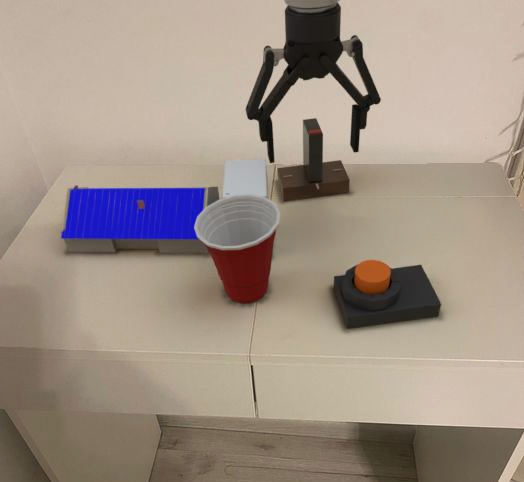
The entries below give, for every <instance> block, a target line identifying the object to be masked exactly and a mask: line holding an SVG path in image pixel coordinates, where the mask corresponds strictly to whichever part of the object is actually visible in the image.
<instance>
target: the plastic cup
mask: <svg viewBox="0 0 524 482" xmlns="http://www.w3.org/2000/svg"><path fill="white" fill-rule="evenodd" d="M280 218H281V211H280V209H279V208H278V205H277V204H276V202H274V201H272V200H270V198H269V199H267V198H265V197H262V196H257V195H252V194H246V195H233V196H230V197H226V198H223V199H222V198H220V200H218V201H216V202H214V203H212V204H211V205H209V206H207V207H206V208H205V209H204V210H203V211H202V212H201V213H200V214H199V215H198V216H197V219H196V222H195V225H194V229H195V232H196V235H197V237H198V239H199V240H201V241H202V242H203V243H204V244H205V246H206V247H207V249H208V251H209V252H208V253H209V254H210V256H211V258H212V262H213V264H214V267H215V270H216V272H217V274H218V277H219V279H220V281H221V282H222V285H223V287H224V290H225V293H226V295H227V296H228V298H229V299H231V301H233V302H235V303H239V304H251V303H255V302H257V301H259V300H261V299H263V298H264V296H265V295H266V294H267V292H268V291H267V290H268V288H269V281H270V275H271V270H272V269H271V268H272V261H273V252H274V245H275V244H274V243H275V237H276V233H277V229H278V228H279V224H280Z"/></svg>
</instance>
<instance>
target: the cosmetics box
mask: <svg viewBox="0 0 524 482" xmlns="http://www.w3.org/2000/svg"><path fill="white" fill-rule="evenodd" d="M267 166H268V165H267V159H266V158H265V157H263V158H262V157H261V158H240V159H239V158H238V159H236V158H235V159H225V160H224V166H223V167H224V169H223V180H222V181H223V182H222V193H221V199H223V198H226V197H230V196H233V195H246V194H252V195H257V196H262V197H265V198H267V199H269V200H270V197H269V180H268V167H267Z"/></svg>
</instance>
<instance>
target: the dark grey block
mask: <svg viewBox="0 0 524 482" xmlns="http://www.w3.org/2000/svg"><path fill="white" fill-rule="evenodd" d="M302 155H303V157H302V161H303V162H302V165H303V166H304V169H305V172H306V175H307V178H308V181H309V183H311V182H319V181H322V172H323V162H324V133H323V131H322V129H321V125H320V123H319V121H318V119H317V118H316V117H314V118H307V119H302Z"/></svg>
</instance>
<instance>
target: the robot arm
mask: <svg viewBox="0 0 524 482" xmlns="http://www.w3.org/2000/svg"><path fill="white" fill-rule="evenodd" d="M340 1H341V0H284V3H285V4H286V5H287V6H286V8H284V31H285V43H284V45H283V48H272V46H271V45H265V46H264V48H263V55H262V56H263V57H262V63H261V66H260V69H259V72H258V75H257V77H256V80H255V82H254V85H253V87H252V91H251V93H250V96H249V98H248V101H247V104H246V106H245V113H246V118H247V120H248V121H257V122H258V134H259V138H260V141H261V143H263V142H264V143H265V142H266V148H267V149H266V150H267V158H268V161H269V164H273V163H274V164H275V146H274V127H273V121H272V117H271V115H272V114H274V112H275V110H276V108H277V107H278V106H279V105H280V103H281V102H282V100H283V99H284V98H285V96H286V95H287V94H288V92H289V91H290V89H291V88H292V87H294V85H296V83H297V82H298V80H299V79H301V80H302V81H311V80H312V79H325V78H326V77H327V76H328V75H329V74H330V75H331V76H332V78H333V79H335V80H336V82H338V84H339V85H340V87H341V88H343V90H344V92H346V93H347V94H348V95H349V97H350V98H351V99H352V100H353V102H355V104H352V105H351V119H350V139H349V146H350V148H351V149H352V152H353V154H354V153H359V152H360V151H359V150H360V137H361V130H365V129H366V128H367V122H368V119H367V118H368V112H369V111H370V110H371V106H374V105H377V106H378V105H379V104H380V103H381V100H382V99H381V96H380V94H379V91H378V89H377V86H376V84H375V81H374V79H373V77H372V74H371V72H370V69H369V67H368V66H367V63H366V60H365V58H364V44H363V41H361V39H360V38H359V36H358V35H356V34H353V35H351V36H350V39H346V40H342V41H341V23H342V21H341V18H342V6H341V5H340V3H339V2H340ZM344 52H346V54H347V56H348V57H349V58H352V60H353V63H354V65H355V67H356V69H357V72H358V74H359V77H360V79H361V81H362V83H363V86H364V88H365V90H366V92H367V94H365V95H363V94H362V93H361V91H360V90H359V89H358V88H357V86H356V85H355V84H354V83H353V82H352V81H351V79H350V78H349V77H348V76H347V74H346V73H345V72H344V71H343V70H342V69H341V68H340V66H339V65H338V64H337V62H338V61H339V59H340V58H341V57H342V55H343V53H344ZM282 59H283V60H284V61H285V63H286V64H287V66H285V68H284V70H283V72H282V75H281V76H280V77H279V79H278V81H277V82H276V83H275V85H274V87H273V88H272V89H271V91H270V92H269V94H268V95H267V96H266V98H265V99H264V96H265V93H266V91H267V88H268V86H269V83H270V81H271V79H272V76H273V72H274V68H275V67H278V66H279V63H280V61H281V60H282ZM263 99H264V101H263V102H262V100H263ZM261 103H262V104H261Z"/></svg>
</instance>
